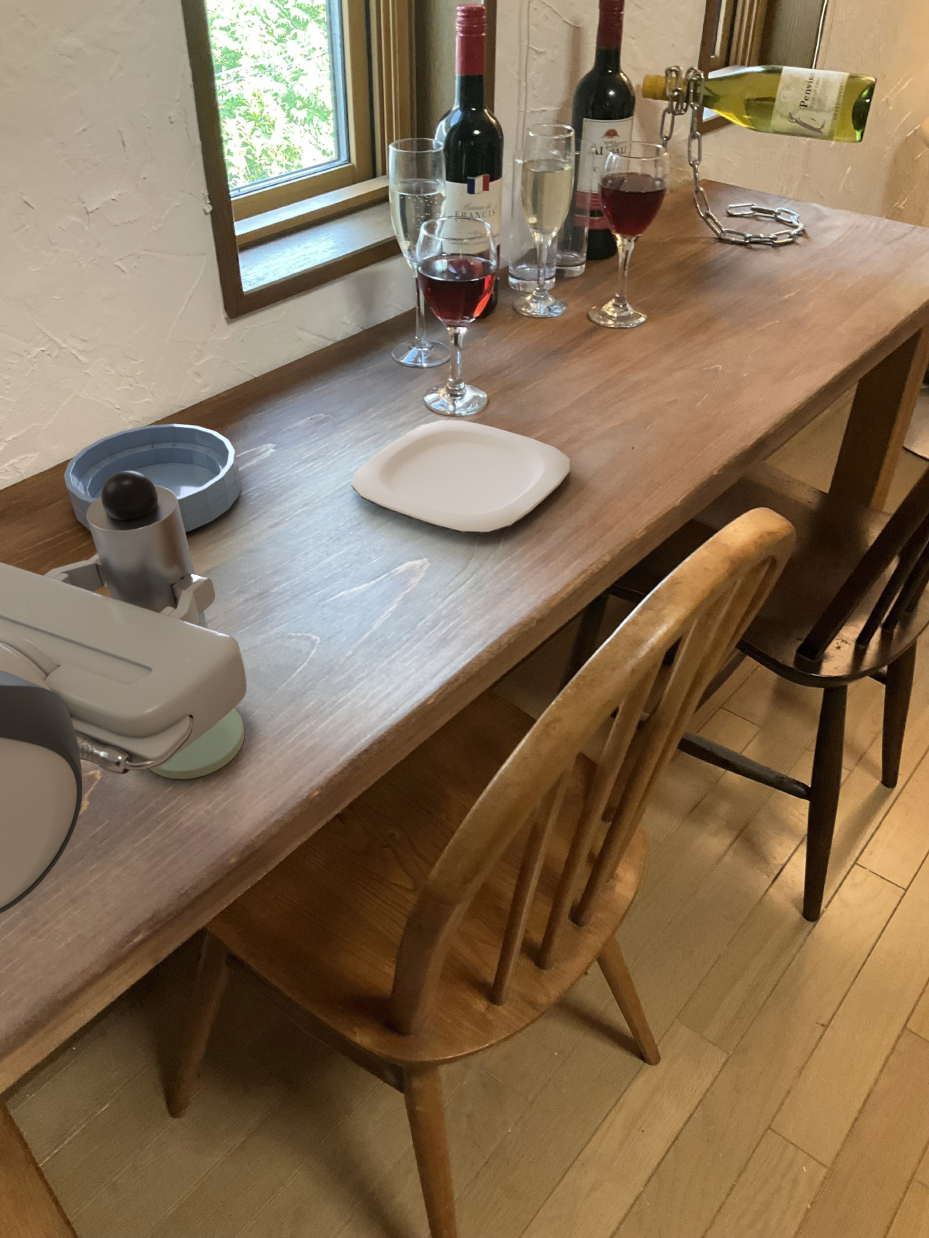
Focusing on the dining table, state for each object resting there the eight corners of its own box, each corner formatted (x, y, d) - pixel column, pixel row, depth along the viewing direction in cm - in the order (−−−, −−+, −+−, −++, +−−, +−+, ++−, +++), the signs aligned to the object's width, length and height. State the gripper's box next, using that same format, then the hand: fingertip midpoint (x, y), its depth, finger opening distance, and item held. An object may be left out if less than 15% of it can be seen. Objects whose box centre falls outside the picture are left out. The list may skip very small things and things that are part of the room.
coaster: (151, 793, 63) (148, 784, 62) (132, 724, 68) (130, 716, 67) (256, 759, 65) (254, 751, 64) (230, 694, 70) (228, 686, 69)
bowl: (88, 561, 83) (76, 523, 81) (66, 480, 94) (55, 444, 91) (259, 520, 88) (253, 482, 86) (220, 447, 99) (213, 412, 96)
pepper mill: (146, 714, 60) (82, 506, 50) (133, 666, 63) (70, 464, 54) (225, 690, 61) (177, 484, 52) (208, 645, 65) (160, 445, 55)
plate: (437, 424, 102) (437, 409, 101) (589, 469, 94) (590, 453, 93) (329, 500, 90) (328, 484, 89) (493, 559, 83) (493, 542, 82)
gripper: (127, 735, 43) (299, 570, 52) (-180, 618, 50) (21, 491, 59) (158, 827, 47) (312, 657, 56) (-131, 706, 54) (50, 574, 63)
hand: (160, 571), depth 58 cm, fingers closed on pepper mill, 5 cm apart
